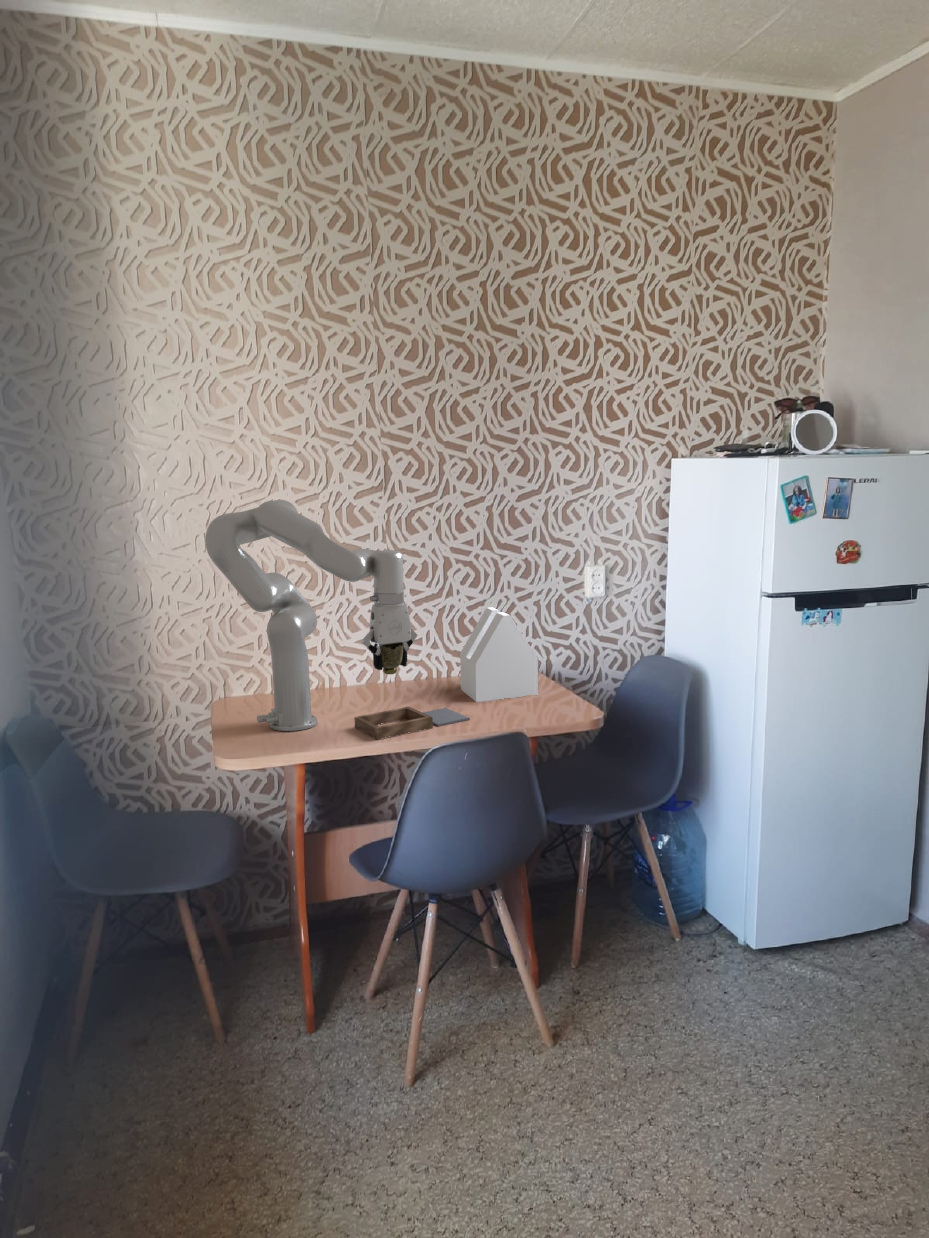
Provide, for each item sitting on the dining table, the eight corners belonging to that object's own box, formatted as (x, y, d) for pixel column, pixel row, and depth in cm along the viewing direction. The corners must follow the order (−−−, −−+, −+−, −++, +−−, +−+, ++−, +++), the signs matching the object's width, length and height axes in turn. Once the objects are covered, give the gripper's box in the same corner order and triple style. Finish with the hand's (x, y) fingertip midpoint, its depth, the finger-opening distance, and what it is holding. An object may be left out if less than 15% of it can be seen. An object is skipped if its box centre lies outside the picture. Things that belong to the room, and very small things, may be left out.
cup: (378, 678, 215) (377, 647, 213) (373, 670, 221) (372, 641, 220) (407, 675, 217) (406, 645, 215) (401, 668, 223) (400, 639, 222)
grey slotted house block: (476, 702, 245) (475, 617, 241) (460, 689, 259) (459, 609, 255) (537, 696, 250) (537, 613, 246) (519, 683, 265) (518, 605, 261)
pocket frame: (377, 740, 212) (376, 728, 211) (355, 728, 222) (354, 717, 222) (432, 728, 221) (432, 717, 220) (408, 717, 231) (408, 706, 231)
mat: (438, 726, 222) (438, 724, 222) (414, 716, 232) (414, 714, 232) (469, 719, 228) (469, 717, 228) (445, 709, 237) (445, 707, 237)
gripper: (365, 604, 208) (367, 674, 211) (425, 597, 217) (426, 665, 220) (351, 600, 214) (353, 669, 217) (410, 594, 223) (412, 660, 227)
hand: (390, 666), depth 219 cm, fingers closed on cup, 6 cm apart
